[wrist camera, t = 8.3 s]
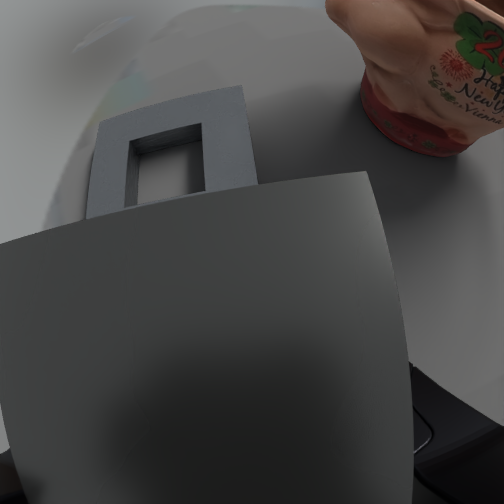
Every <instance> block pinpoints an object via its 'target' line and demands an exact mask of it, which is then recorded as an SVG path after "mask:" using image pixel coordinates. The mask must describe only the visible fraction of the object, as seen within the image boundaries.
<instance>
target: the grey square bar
mask: <svg viewBox="0 0 504 504" xmlns="http://www.w3.org/2000/svg"><path fill="white" fill-rule="evenodd" d="M0 404H1V410H2V415H3V420H4V425H5V429H6V433H7V438H8V442H9V446H10V449H11V453H12V457H13V460H14V463H15V467H16V470H17V473H18V476H19V479H20V482H21V484H22V487H23V490H24V493H25V495H26V498H27V500H28V503H29V504H412V490H413V467H414V432H413V407H412V392H411V380H410V370H409V361H408V352H407V344H406V337H405V330H404V324H403V317H402V311H401V306H400V300H399V295H398V290H397V285H396V280H395V275H394V270H393V266H392V261H391V257H390V253H389V248H388V244H387V240H386V236H385V233H384V229H383V225H382V221H381V218H380V214H379V211H378V207H377V204H376V200H375V197H374V194H373V190H372V187H371V184H370V181H369V178H368V175H367V172H366V171H362V172H352V173H342V174H333V175H325V176H316V177H308V178H300V179H293V180H286V181H279V182H272V183H265V184H258V185H252V186H246V187H240V188H234V189H228V190H222V191H216V192H211V193H205V194H200V195H194V196H189V197H184V198H179V199H174V200H169V201H164V202H159V203H155V204H150V205H145V206H141V207H136V208H132V209H127V210H123V211H119V212H114V213H110V214H106V215H102V216H98V217H94V218H90V219H86V220H82V221H78V222H74V223H71V224H67V225H63V226H60V227H56V228H52V229H49V230H45V231H42V232H38V233H35V234H32V235H28V236H25V237H21V238H18V239H15V240H12V241H8V242H6V243H2V244H0Z"/></svg>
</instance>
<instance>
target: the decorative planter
mask: <svg viewBox="0 0 504 504" xmlns="http://www.w3.org/2000/svg"><path fill="white" fill-rule="evenodd" d="M325 8H326V12H327V14H328V16H329V18H330V19H331V20H332V21H333V22H334V23H335V24H337V25H338V26H339V27H340V28H341V29H342V30H343V31H344V32H346V33H347V34H348V35H349V36H350V37H351V38H352V39H353V40H354V42H355V43H356V45H357V47H358V48H359V50H360V52H361V54H362V57H363V60H364V62H365V65H366V68H365V72H364V75H363V78H362V82H361V89H360V95H361V101H362V104H363V107H364V110H365V112H366V114H367V115H368V117H369V118H370V120H371V121H372V122H373V123H374V124H375V125H376V126H377V127H378V129H379V130H380V131H381V132H382V133H383V134H384V135H386V136H387V137H388V138H389V139H391V140H392V141H394V142H396V143H398V144H399V145H401V146H404V147H406V148H408V149H410V150H413V151H415V152H418V153H422V154H427V155H432V156H438V157H448V156H452V155H455V154H458V153H461V152H462V151H464V150H466V149H467V148H468V147H469V146H470V145H472V144H473V143H474V142H475V141H476V140H477V139H479V138H480V137H482V136H485V135H487V134H490V133H492V132H494V131H496V130H498V129H501V128H504V0H326V2H325Z"/></svg>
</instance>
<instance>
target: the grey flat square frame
mask: <svg viewBox="0 0 504 504" xmlns="http://www.w3.org/2000/svg"><path fill="white" fill-rule="evenodd" d="M199 140H202V142H203V160H204V175H205V190H206V191H202V192H197V193H192V194H187V195H182V196H177V197H172V198H167V199H162V200H157V201H153V202H148V203H144V204H139V205H137V195H138V174H139V158H140V155H141V154H144V153H148V152H152V151H156V150H160V149H164V148H168V147H172V146H176V145H181V144H185V143H190V142H194V141H199ZM252 185H258V179H257V173H256V166H255V160H254V154H253V148H252V142H251V136H250V130H249V124H248V118H247V112H246V106H245V100H244V95H243V89H242V85H240V86H234V87H228V88H223V89H217V90H212V91H207V92H203V93H198V94H194V95H189V96H185V97H181V98H177V99H173V100H169V101H165V102H162V103H158V104H154V105H151V106H147V107H144V108H141V109H137V110H134V111H131V112H128V113H125V114H122V115H119V116H116V117H113V118H110V119H107V120H104V121H102V122H100V124H99V129H98V134H97V139H96V144H95V150H94V156H93V162H92V169H91V176H90V183H89V191H88V200H87V210H86V219H90V218H94V217H98V216H102V215H106V214H110V213H114V212H119V211H123V210H127V209H132V208H136V207H141V206H145V205H150V204H155V203H159V202H164V201H169V200H174V199H179V198H184V197H189V196H194V195H200V194H205V193H211V192H216V191H222V190H228V189H234V188H240V187H246V186H252Z"/></svg>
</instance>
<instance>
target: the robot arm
mask: <svg viewBox="0 0 504 504" xmlns="http://www.w3.org/2000/svg"><path fill="white" fill-rule="evenodd" d="M409 370H410V380H411V392H412V407H413V432H414V467H413V490H412V504H504V426H502V425H500V424H498V423H496V422H495V421H493V420H491V419H490V418H488V417H487V416H485V415H483V414H482V413H480V412H479V411H477V410H476V409H474V408H472V407H471V406H469V405H468V404H466V403H465V402H463V401H462V400H460V399H458V398H457V397H455V396H454V395H452V394H451V393H450V392H448V391H447V390H445V389H444V388H442V387H441V386H439V385H438V384H437V383H436V382H434V381H433V380H432V379H430V378H429V377H428V376H427V375H425V374H424V373H423V372H422V371H420V370H419V369H418V368H417V367H413V364H412V363H410V362H409ZM0 504H29V503H28V500H27V498H26V495H25V493H24V490H23V487H22V484H21V482H20V479H19V476H18V473H17V470H16V467H15V463H14V460H13V457H12V453H11V449H10V448H9V449H8V450H7V451H5V452H3V453H2V454H0Z"/></svg>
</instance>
